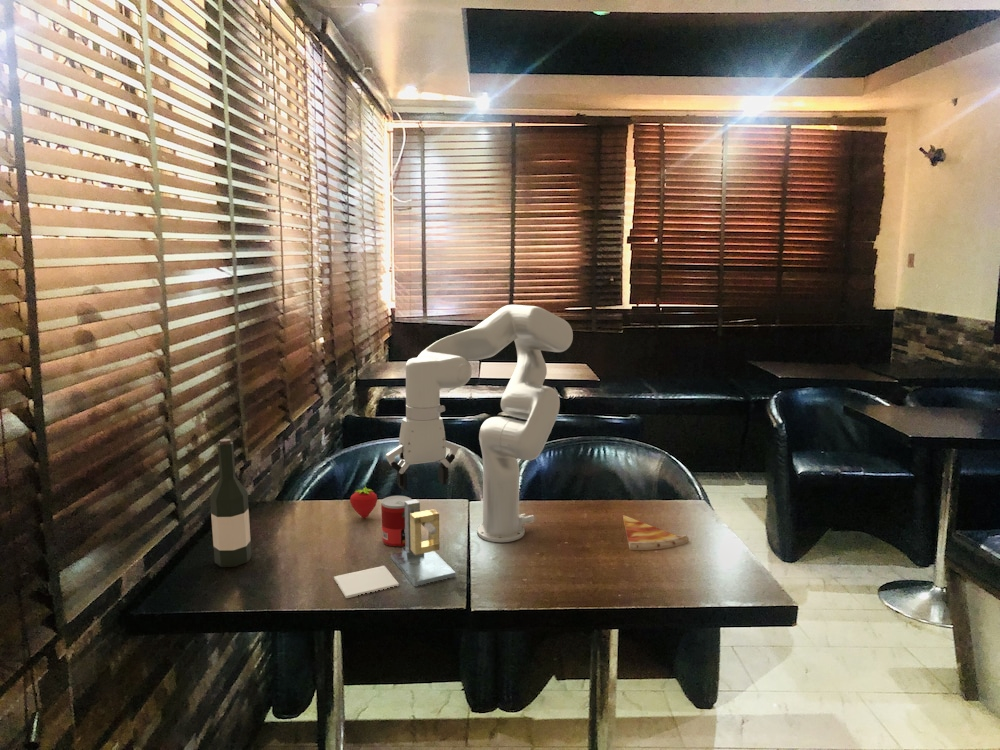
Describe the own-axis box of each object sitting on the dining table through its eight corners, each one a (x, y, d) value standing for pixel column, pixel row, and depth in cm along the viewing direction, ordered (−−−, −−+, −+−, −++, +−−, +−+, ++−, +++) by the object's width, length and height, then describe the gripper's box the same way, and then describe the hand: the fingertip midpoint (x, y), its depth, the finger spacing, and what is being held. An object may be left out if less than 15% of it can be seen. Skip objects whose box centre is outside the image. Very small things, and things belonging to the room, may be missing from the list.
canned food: (407, 548, 172) (406, 507, 170) (377, 545, 173) (376, 504, 171) (417, 536, 179) (416, 496, 177) (388, 533, 181) (387, 494, 179)
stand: (428, 550, 171) (428, 495, 168) (455, 577, 157) (455, 518, 154) (390, 558, 166) (389, 502, 164) (414, 586, 152) (413, 526, 150)
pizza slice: (678, 520, 193) (679, 513, 192) (692, 554, 171) (693, 547, 170) (622, 517, 194) (623, 511, 194) (629, 551, 172) (629, 544, 172)
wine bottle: (206, 564, 163) (197, 442, 157) (231, 549, 170) (223, 433, 165) (235, 569, 160) (226, 446, 154) (258, 555, 168) (251, 437, 162)
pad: (384, 567, 161) (384, 565, 161) (398, 586, 153) (398, 583, 153) (334, 578, 156) (333, 576, 156) (346, 598, 147) (346, 595, 147)
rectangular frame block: (434, 545, 162) (434, 509, 160) (439, 549, 159) (439, 513, 157) (410, 550, 159) (410, 513, 157) (415, 555, 156) (414, 517, 155)
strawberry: (350, 514, 194) (349, 481, 192) (377, 512, 195) (376, 479, 193) (350, 522, 188) (349, 488, 186) (378, 520, 189) (377, 486, 187)
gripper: (451, 406, 160) (450, 476, 163) (380, 412, 152) (381, 486, 155) (464, 412, 154) (464, 485, 157) (391, 420, 146) (392, 496, 148)
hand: (423, 485), depth 156 cm, fingers open, 9 cm apart
